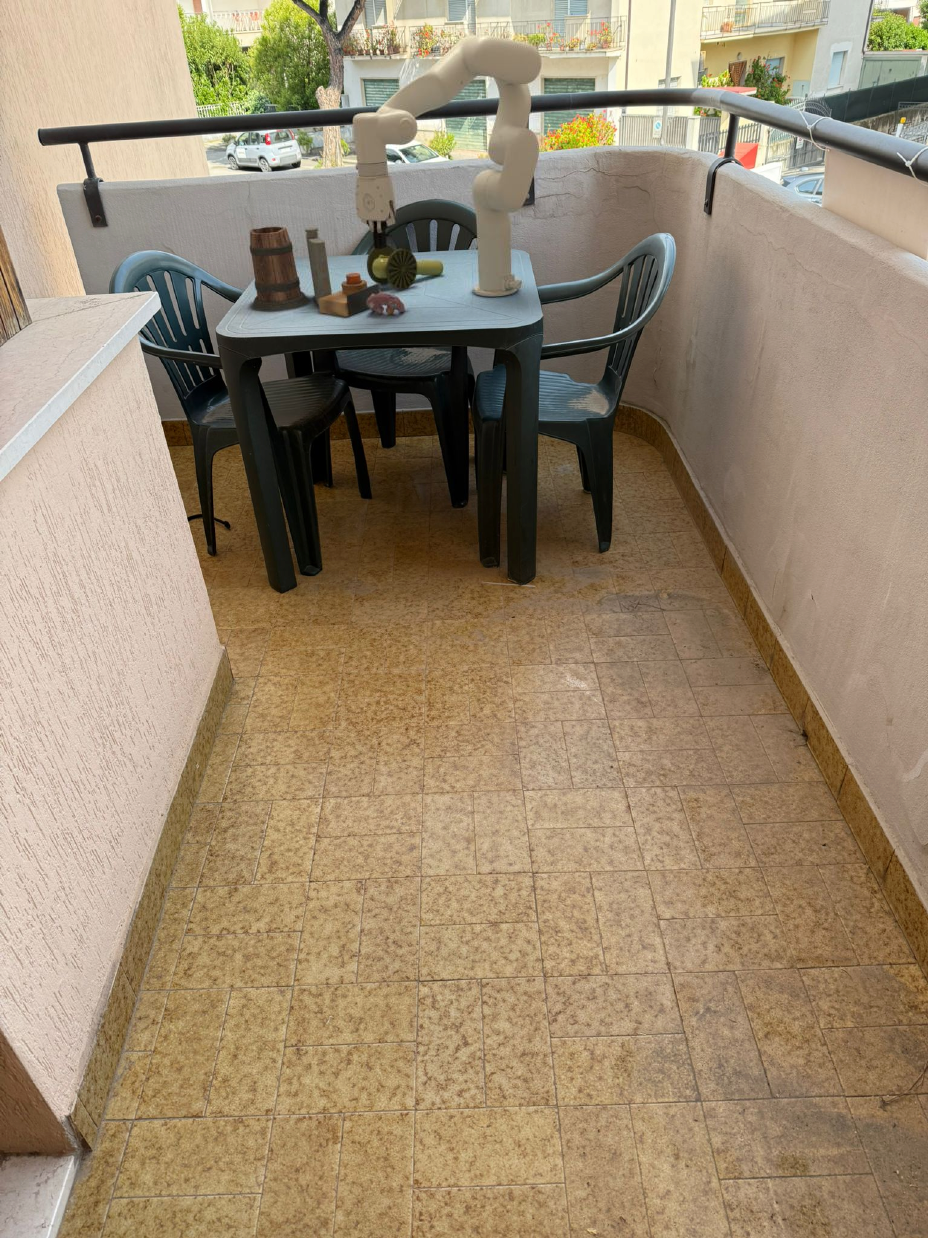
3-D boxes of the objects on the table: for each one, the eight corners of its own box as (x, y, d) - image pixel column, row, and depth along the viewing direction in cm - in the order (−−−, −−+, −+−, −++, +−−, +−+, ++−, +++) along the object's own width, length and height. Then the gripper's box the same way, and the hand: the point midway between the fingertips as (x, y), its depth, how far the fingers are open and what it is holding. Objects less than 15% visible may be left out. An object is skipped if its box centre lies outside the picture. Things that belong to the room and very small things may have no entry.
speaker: (381, 303, 241) (379, 281, 237) (346, 316, 231) (343, 294, 227) (355, 298, 245) (352, 277, 242) (320, 312, 236) (316, 290, 232)
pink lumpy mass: (369, 319, 233) (362, 299, 227) (374, 307, 235) (367, 287, 229) (402, 320, 231) (396, 300, 225) (406, 308, 233) (400, 288, 227)
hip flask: (334, 307, 239) (324, 231, 227) (320, 309, 238) (309, 233, 226) (325, 294, 251) (314, 221, 240) (311, 295, 251) (300, 223, 239)
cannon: (429, 271, 268) (426, 233, 261) (452, 277, 260) (450, 238, 254) (364, 287, 255) (360, 247, 249) (387, 294, 248) (383, 253, 241)
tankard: (304, 309, 239) (292, 233, 227) (245, 312, 239) (231, 236, 228) (316, 287, 258) (306, 217, 246) (262, 290, 258) (249, 220, 247)
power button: (364, 282, 238) (363, 273, 236) (354, 286, 235) (353, 276, 234) (353, 281, 240) (352, 272, 238) (344, 284, 237) (343, 275, 236)
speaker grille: (380, 302, 239) (378, 283, 236) (350, 314, 231) (347, 295, 228) (379, 302, 240) (377, 283, 237) (348, 314, 231) (346, 294, 228)
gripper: (340, 170, 212) (350, 248, 223) (386, 173, 205) (393, 253, 215) (360, 166, 217) (368, 242, 228) (405, 168, 210) (411, 247, 220)
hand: (380, 247), depth 222 cm, fingers closed
